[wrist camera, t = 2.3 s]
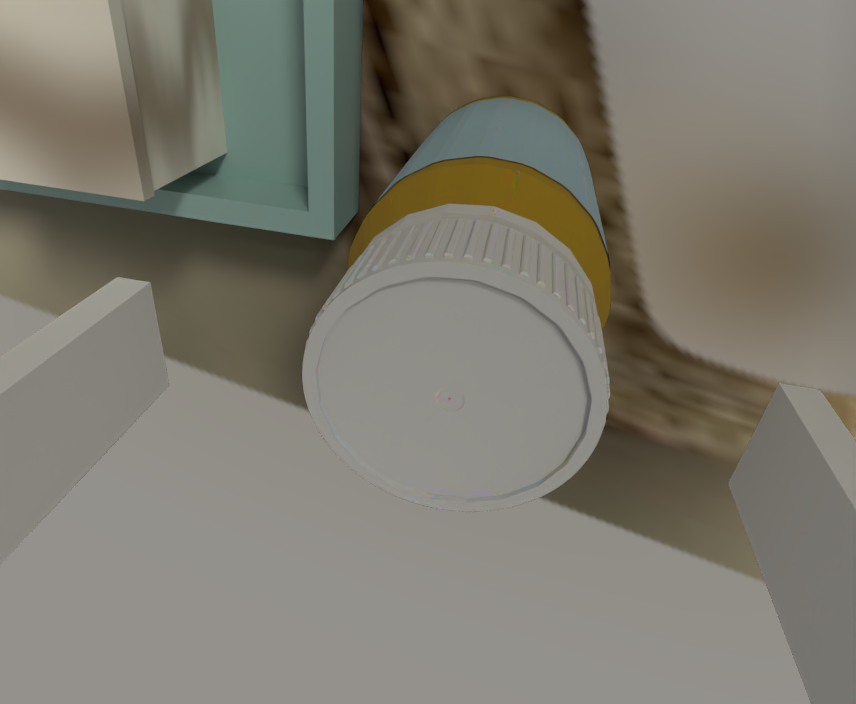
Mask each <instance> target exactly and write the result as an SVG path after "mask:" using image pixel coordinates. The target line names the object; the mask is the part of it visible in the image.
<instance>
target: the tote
mask: <svg viewBox="0 0 856 704" xmlns="http://www.w3.org/2000/svg"><path fill="white" fill-rule="evenodd" d="M212 5H213V15H214V25H215V35H216V45H217V55H218V65H219V76H220V86H221V96H222V106H223V116H224V126H225V136H226V146H227V153H225V154H223V155H221V156H219V157H218V158H216V159H214V160H212V161H210V162H208V163H206V164H204V165H202V166H201V167H199V168H197V169H195V170H193V171H191V172H189V173H187V174H185V175H183V176H182V177H180V178H178V179H176V180H174V181H172V182H170V183H168V184H166V185H165V186H163V187H161V188H159V189H157V190H155V191H154V195H155V196H153V197H151V198H150V199H148V200H146V201H139V200H133V199H126V198H119V197H113V196H106V195H100V194H93V193H86V192H80V191H73V190H67V189H60V188H53V187H47V186H40V185H34V184H27V183H20V182H14V181H7V180H0V189H2V190H9V191H15V192H22V193H29V194H35V195H42V196H48V197H55V198H61V199H68V200H74V201H81V202H87V203H94V204H100V205H107V206H113V207H120V208H127V209H133V210H140V211H146V212H153V213H159V214H166V215H172V216H179V217H185V218H192V219H198V220H205V221H211V222H218V223H225V224H231V225H238V226H244V227H251V228H257V229H264V230H270V231H277V232H283V233H290V234H296V235H303V236H309V237H316V238H323V239H329V240H335V238H336V237H337V236H338V235H339V234H340V232H341V231H342V230H343V229H344V228H345V226H346V225H347V224H348V223H349V222H350V220H351V219H352V218H353V217H354V216H355V215H356V213H357V212H358V208H359V163H360V118H361V74H362V29H363V0H212Z"/></svg>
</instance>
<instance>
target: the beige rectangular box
mask: <svg viewBox="0 0 856 704" xmlns="http://www.w3.org/2000/svg"><path fill="white" fill-rule="evenodd" d="M225 153H227V146H226V136H225V126H224V116H223V106H222V96H221V86H220V76H219V65H218V55H217V45H216V35H215V25H214V15H213V5H212V0H0V180H7V181H14V182H20V183H27V184H34V185H40V186H47V187H53V188H60V189H67V190H73V191H80V192H86V193H93V194H100V195H106V196H113V197H119V198H126V199H133V200H139V201H146V200H148V199H150V198H151V197H153V196H155V195H154V191H155V190H157V189H159V188H161V187H163V186H165V185H166V184H168V183H170V182H172V181H174V180H176V179H178V178H180V177H182V176H183V175H185V174H187V173H189V172H191V171H193V170H195V169H197V168H199V167H201V166H202V165H204V164H206V163H208V162H210V161H212V160H214V159H216V158H218V157H219V156H221V155H223V154H225Z"/></svg>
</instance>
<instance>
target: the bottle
mask: <svg viewBox="0 0 856 704" xmlns="http://www.w3.org/2000/svg"><path fill="white" fill-rule="evenodd" d="M610 305H611V273H610V261H609V256H608V251H607V246H606V242H605V237H604V232H603V228H602V223H601V218H600V214H599V209H598V205H597V200H596V195H595V191H594V186H593V181H592V177H591V172H590V168H589V164H588V161H587V159H586V156H585V153H584V150H583V148H582V145H581V143H580V141H579V139H578V138H577V136H576V135H575V133H574V132H573V131H572V130H571V129H570V127H569V126H568V125H567V124H566V122H565V121H564V120H563V119H562V118H561V117H560V116H558V115H557V114H556V113H554V112H552V111H551V110H549V109H547V108H546V107H544V106H542V105H541V104H539V103H537V102H534V101H532V100H527V99H522V98H517V97H512V96H497V97H490V98H483V99H479V100H475V101H473V102H471V103H469V104H467V105H465V106H463V107H461V108H459V109H457V110H455V111H453V112H452V113H451V114H449V115H448V116H447V117H446V118H445V119H444V120H443V121H442V122H441V123H440V124H439V125H438V126H437V127H436V128H435V129H434V130H433V131H432V132H431V133H430V134H429V135H428V137H427V138H426V139H425V140H424V142H423V143H422V144H421V145H420V147H419V148H418V149H417V150H416V152H415V153H414V154H413V155H412V157H411V158H410V159H409V161H408V162H407V163H406V164H405V166H404V167H403V168H402V169H401V171H400V172H399V173H398V174H397V176H396V177H395V178H394V180H393V181H392V182H391V183H390V185H389V186H388V187H387V188H386V190H385V191H384V192H383V193H382V195H381V196H380V197H379V198H378V200H377V201H376V202H375V204H374V205H373V206H372V208H371V209H370V211H369V212H368V214H367V216H366V217H365V219H364V220H363V222H362V224H361V226H360V228H359V230H358V232H357V235H356V237H355V239H354V241H353V243H352V245H351V248H350V252H349V256H348V266H347V272H346V274H345V275H344V277H343V278H342V279H341V281H340V282H339V284H338V285H337V287H336V288H335V289H334V291H333V292H332V294H331V295H330V297H329V298H328V299H327V301H326V302H325V304H324V305H323V307H322V309H321V310H320V312H319V313H318V314H317V316H316V318H315V322H314V324H313V325H312V327H311V328H310V331H309V335H310V336H309V338H308V339H307V341H306V345H305V346H306V348H305V352H304V358H303V366H302V381H303V390H304V395H305V399H306V403H307V406H308V409H309V412H310V415H311V417H312V419H313V421H314V423H315V425H316V427H317V429H318V431H319V432H320V434H321V436H322V437H323V439H324V440H325V441H326V443H327V444H328V446H329V447H330V448H331V449H332V450H333V451H334V453H335V454H336V455H337V456H338V457H339V458H340V459H341V460H342V461H343V462H344V463H345V464H346V465H347V466H348V467H350V468H351V469H352V470H353V471H354V472H356V473H357V474H358V475H359V476H361V477H362V478H364V479H365V480H367V481H368V482H370V483H371V484H373V485H375V486H377V487H378V488H380V489H382V490H384V491H386V492H388V493H390V494H392V495H394V496H396V497H399V498H401V499H404V500H407V501H410V502H413V503H416V504H419V505H423V506H427V507H431V508H436V509H443V510H450V511H462V512H480V511H492V510H499V509H504V508H509V507H514V506H517V505H521V504H524V503H527V502H530V501H532V500H535V499H537V498H539V497H542V496H544V495H546V494H547V493H549V492H551V491H553V490H554V489H556V488H558V487H559V486H561V485H562V484H563V483H565V482H566V481H567V480H568V479H570V478H571V477H572V476H573V475H574V474H575V473H576V472H577V471H578V470H579V469H580V468H581V467H582V466H583V465H584V463H585V462H586V461H587V460H588V458H589V457H590V455H591V454H592V452H593V451H594V449H595V447H596V445H597V443H598V441H599V439H600V436H601V434H602V431H603V428H604V426H605V423H606V414H607V413H608V412H609V403H608V399H609V398H610V387H609V383H610V380H609V373H608V366H607V359H606V353H605V346H604V339H603V333H602V331H603V328H604V325H605V323H606V320H607V318H608V315H609V310H610Z"/></svg>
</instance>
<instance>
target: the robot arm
mask: <svg viewBox="0 0 856 704" xmlns="http://www.w3.org/2000/svg"><path fill="white" fill-rule="evenodd" d="M168 386H169V380H168V375H167V369H166V365H165V358H164V353H163V348H162V342H161V337H160V331H159V326H158V320H157V315H156V310H155V304H154V299H153V293H152V288H151V282H146V281H139V280H133V279H127V278H121V277H117V278H115V279H114V280H112V281H111V282H109V283H108V284H106V285H105V286H103V287H102V288H100V289H99V290H97V291H96V292H94V293H93V294H92V295H90V296H89V297H87V298H86V299H84V300H83V301H81V302H80V303H78V304H77V305H75V306H74V307H72V308H71V309H69V310H68V311H66V312H65V313H63V314H62V315H60V316H59V317H58V318H56V319H55V320H53V321H52V322H50V323H49V324H47V325H46V326H44V327H43V328H41V329H40V330H38V331H37V332H35V333H34V334H33V335H31V336H30V337H28V338H27V339H25V340H24V341H22V342H21V343H19V344H18V345H16V346H15V347H13V348H12V349H10V350H9V351H8V352H6V353H4V354H3V355H2V356H0V565H1V564H2V563H3V561H4V560H5V559H6V558H7V557H8V556H9V555H10V554H11V553H12V552H13V551H14V550H15V549H16V548H17V547H18V545H19V544H20V543H21V542H22V541H23V540H24V539H25V538H26V537H27V536H28V535H29V534H30V533H31V532H32V531H33V530H34V529H35V527H36V526H37V525H38V524H39V523H40V522H41V521H42V520H43V519H44V518H45V517H46V516H47V515H48V514H49V513H50V511H51V510H52V509H53V508H54V507H55V506H56V505H57V504H58V503H59V502H60V501H61V500H62V499H63V498H64V497H65V496H66V495H67V493H68V492H69V491H70V490H71V489H72V488H73V487H74V486H75V485H76V484H77V483H78V482H79V481H80V480H81V479H82V478H83V476H84V475H85V474H86V473H87V472H88V471H89V470H90V469H91V468H92V467H93V466H94V465H95V464H96V463H97V462H98V460H100V458H101V457H102V456H103V455H104V454H105V453H106V452H107V451H108V450H109V449H110V448H111V447H112V446H113V445H114V444H115V443H116V441H117V440H118V439H119V438H120V437H121V436H122V435H123V434H124V433H125V432H126V431H127V430H128V429H129V428H130V427H131V425H132V424H133V423H134V422H135V421H136V420H137V419H138V418H139V417H140V416H141V415H142V414H143V413H144V412H145V411H146V410H147V408H148V407H149V406H150V405H151V404H152V403H153V402H154V401H155V400H156V399H157V398H158V397H159V396H160V395H161V394H162V393H163V392H164V390H165V389H166V388H167V387H168ZM728 485H729V488H730V491H731V493H732V496H733V499H734V501H735V504H736V507H737V509H738V512H739V515H740V517H741V520H742V522H743V525H744V528H745V530H746V533H747V536H748V538H749V541H750V544H751V546H752V549H753V552H754V554H755V557H756V559H757V562H758V565H759V567H760V570H761V573H762V575H763V578H764V581H765V583H766V586H767V589H768V591H769V594H770V596H771V599H772V602H773V604H774V607H775V610H776V612H777V615H778V618H779V620H780V623H781V626H782V628H783V631H784V634H785V636H786V639H787V641H788V644H789V647H790V649H791V652H792V655H793V657H794V660H795V663H796V665H797V668H798V671H799V673H800V676H801V678H802V681H803V683H804V686H805V689H806V692H807V694H808V697H809V700H810V702H811V704H856V441H855V439H854V438H853V437H852V435H851V434H850V432H849V431H848V429H847V428H846V426H845V425H844V424H843V422H842V421H841V419H840V418H839V416H838V415H837V414H836V412H835V411H834V409H833V408H832V406H831V405H830V404H829V402H828V401H827V399H826V398H825V396H824V395H823V393H822V392H821V391H820V389H813V388H807V387H801V386H795V385H788V384H782V383H779V384H778V386H777V388H776V390H775V392H774V394H773V396H772V398H771V400H770V402H769V404H768V406H767V408H766V410H765V412H764V414H763V416H762V418H761V420H760V422H759V423H758V425H757V427H756V429H755V431H754V433H753V435H752V437H751V439H750V441H749V443H748V445H747V447H746V449H745V451H744V453H743V455H742V457H741V459H740V461H739V463H738V465H737V467H736V469H735V471H734V473H733V475H732V477H731V479H730V481H729V483H728Z"/></svg>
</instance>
